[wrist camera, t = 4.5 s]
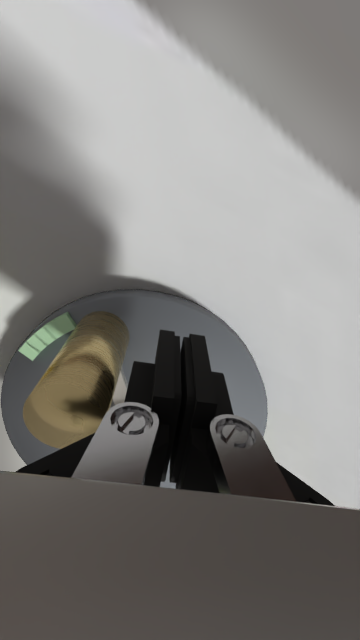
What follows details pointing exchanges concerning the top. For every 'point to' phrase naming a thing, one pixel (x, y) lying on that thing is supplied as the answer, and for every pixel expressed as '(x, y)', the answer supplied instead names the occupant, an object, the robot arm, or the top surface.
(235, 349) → the dial plate
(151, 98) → the top surface
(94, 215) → the top surface
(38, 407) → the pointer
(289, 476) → the robot arm
